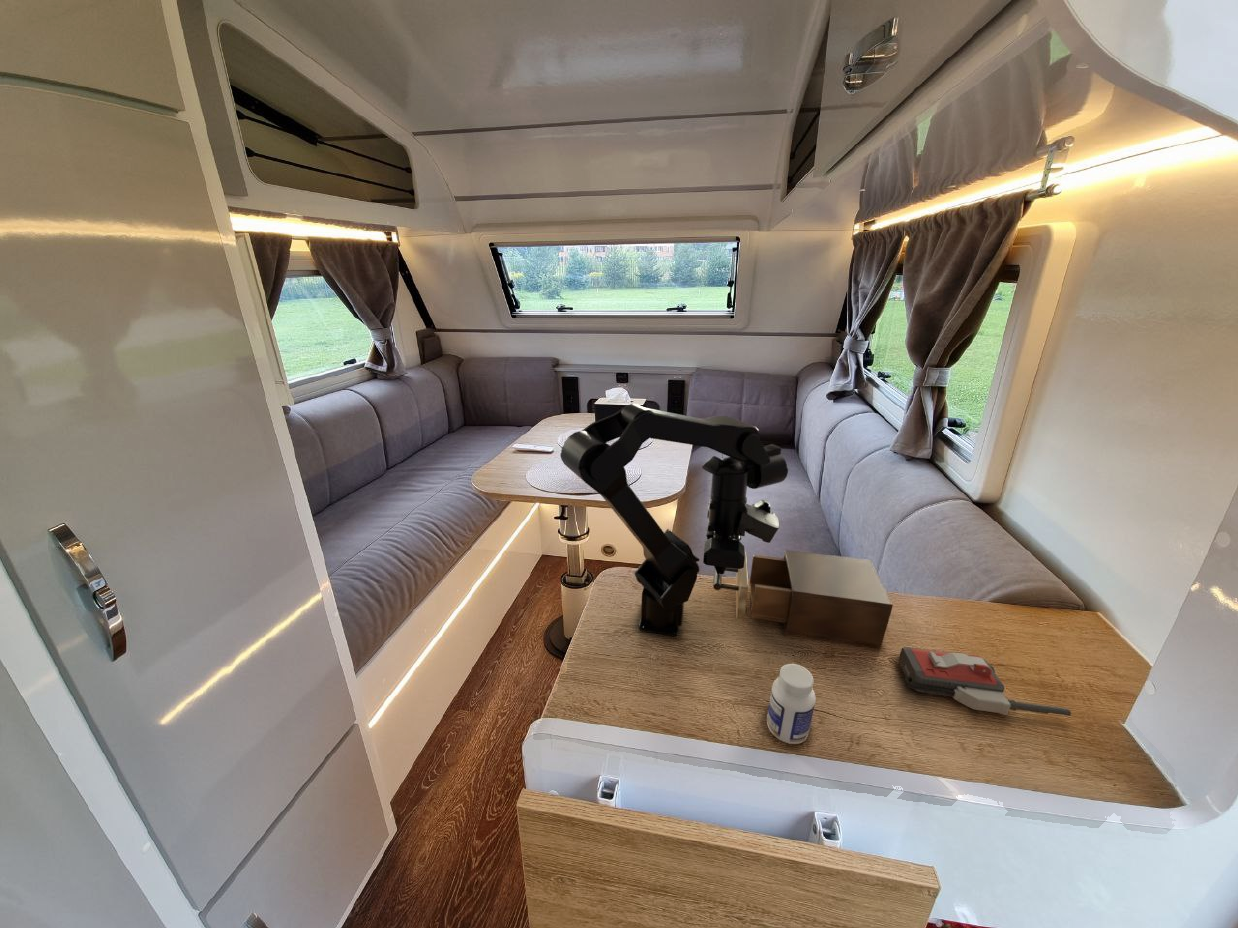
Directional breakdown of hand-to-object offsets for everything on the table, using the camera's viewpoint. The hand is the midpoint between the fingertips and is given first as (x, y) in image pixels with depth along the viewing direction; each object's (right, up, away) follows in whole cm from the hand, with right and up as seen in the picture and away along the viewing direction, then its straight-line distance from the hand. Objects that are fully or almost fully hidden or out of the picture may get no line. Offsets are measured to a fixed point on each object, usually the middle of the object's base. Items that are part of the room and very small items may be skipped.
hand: (720, 572), depth 84 cm
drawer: (+8, -5, 0) cm, 9 cm away
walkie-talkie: (+33, -13, -16) cm, 39 cm away
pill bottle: (+4, -15, -22) cm, 27 cm away
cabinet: (+18, -7, -1) cm, 19 cm away
